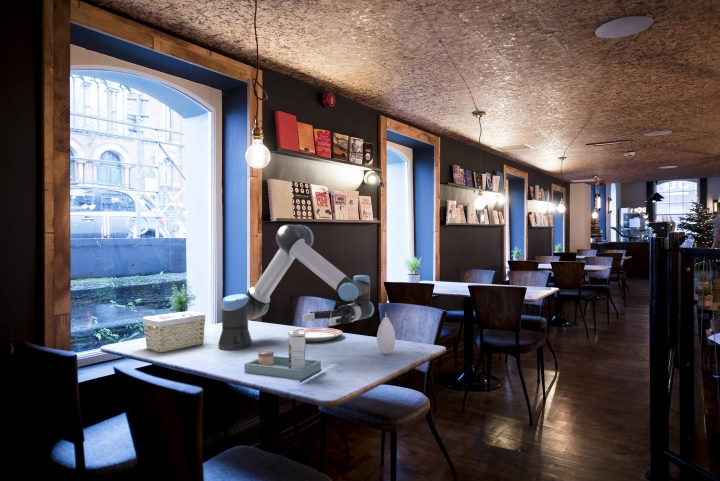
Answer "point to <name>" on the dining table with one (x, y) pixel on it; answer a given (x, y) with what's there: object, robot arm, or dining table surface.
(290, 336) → the syrup box
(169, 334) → the storage basket
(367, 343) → the dining table surface
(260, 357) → the jar
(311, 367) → the tray
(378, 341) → the air blower bulb
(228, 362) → the dining table surface
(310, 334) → the dinner plate
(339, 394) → the dining table surface
